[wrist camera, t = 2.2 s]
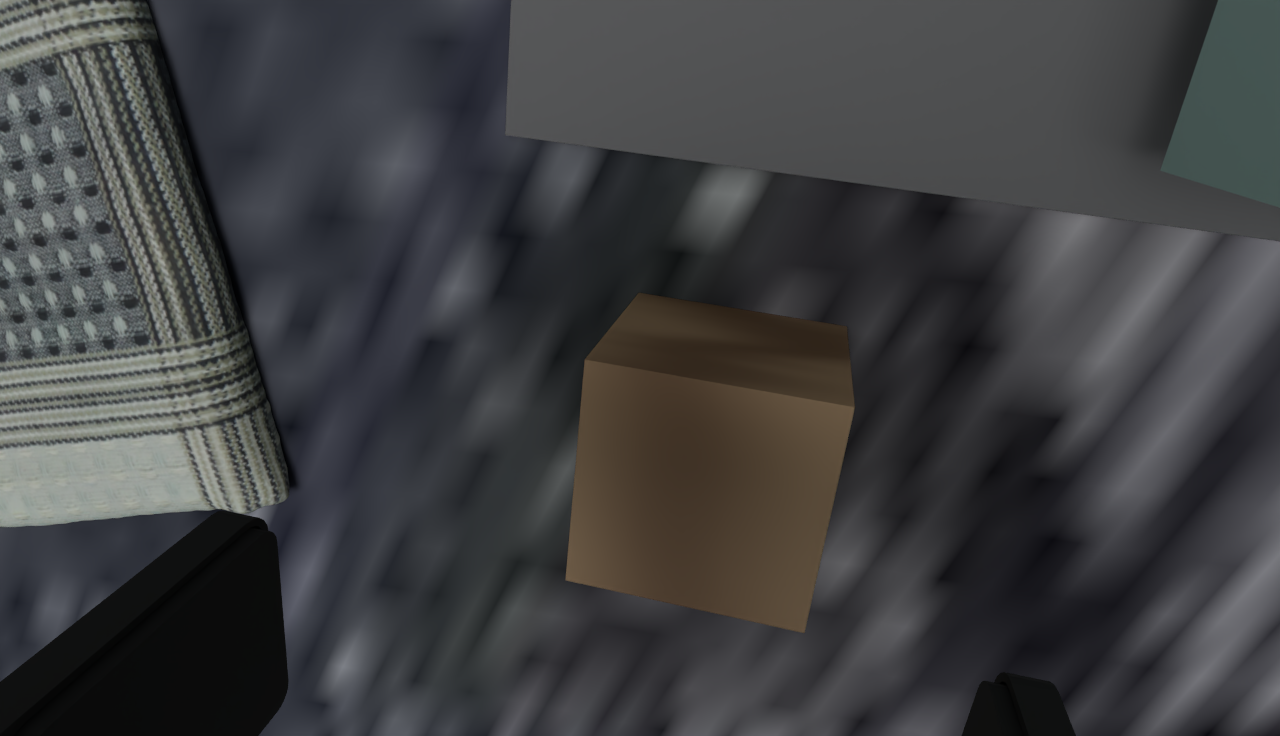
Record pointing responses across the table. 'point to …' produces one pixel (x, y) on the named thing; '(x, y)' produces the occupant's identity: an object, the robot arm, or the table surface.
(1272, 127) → the mint green cubby
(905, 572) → the table surface
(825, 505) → the walnut block
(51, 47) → the dish towel
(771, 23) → the dock mat
